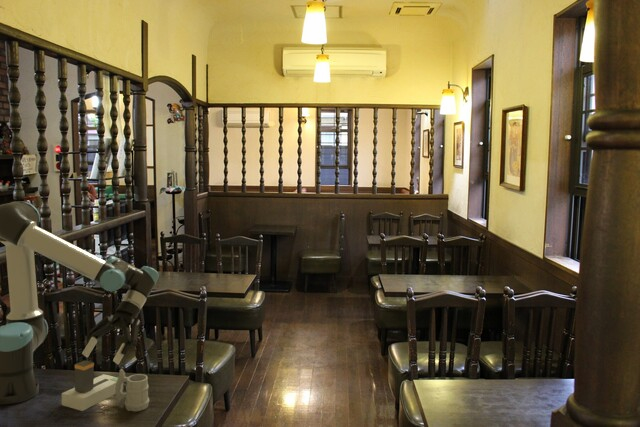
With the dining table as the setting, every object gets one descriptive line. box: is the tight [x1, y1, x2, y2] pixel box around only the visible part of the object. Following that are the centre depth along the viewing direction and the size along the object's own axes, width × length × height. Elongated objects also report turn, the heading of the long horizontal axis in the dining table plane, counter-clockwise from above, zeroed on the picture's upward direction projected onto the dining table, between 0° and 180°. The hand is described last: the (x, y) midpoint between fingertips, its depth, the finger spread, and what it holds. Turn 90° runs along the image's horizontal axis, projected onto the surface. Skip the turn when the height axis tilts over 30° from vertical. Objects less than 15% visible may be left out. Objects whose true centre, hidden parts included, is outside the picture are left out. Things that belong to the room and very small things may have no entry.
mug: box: [114, 368, 150, 412], centre depth 172 cm, size 8×12×12 cm, turn 78°
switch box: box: [61, 373, 124, 412], centre depth 177 cm, size 9×18×4 cm, turn 158°
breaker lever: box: [74, 360, 95, 393], centre depth 173 cm, size 4×4×9 cm
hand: (99, 359), depth 177 cm, fingers open, 13 cm apart
